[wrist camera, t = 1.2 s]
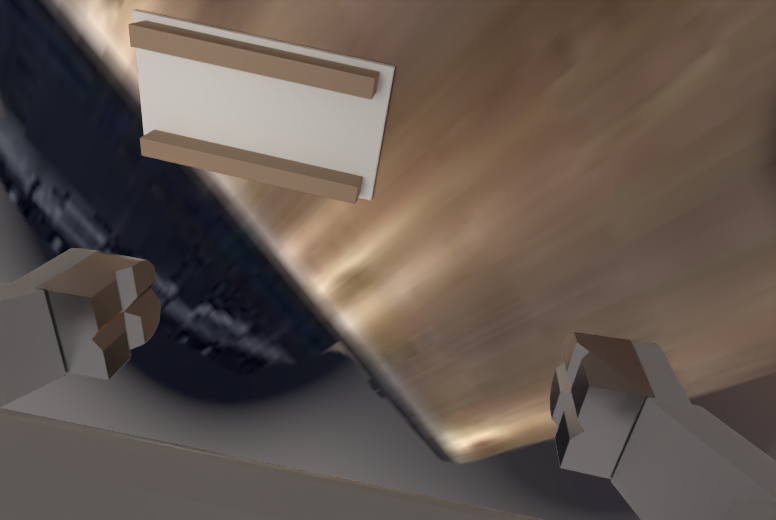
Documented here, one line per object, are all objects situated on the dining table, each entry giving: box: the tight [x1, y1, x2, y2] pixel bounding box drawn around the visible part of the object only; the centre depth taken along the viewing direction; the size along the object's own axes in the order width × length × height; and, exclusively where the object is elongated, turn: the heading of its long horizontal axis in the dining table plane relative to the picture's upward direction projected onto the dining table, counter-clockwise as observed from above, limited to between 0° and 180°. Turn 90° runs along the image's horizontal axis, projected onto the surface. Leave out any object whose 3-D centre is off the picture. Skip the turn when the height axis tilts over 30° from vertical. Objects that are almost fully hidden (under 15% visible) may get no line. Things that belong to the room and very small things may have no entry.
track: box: [129, 9, 395, 204], centre depth 40 cm, size 20×11×3 cm, turn 80°
